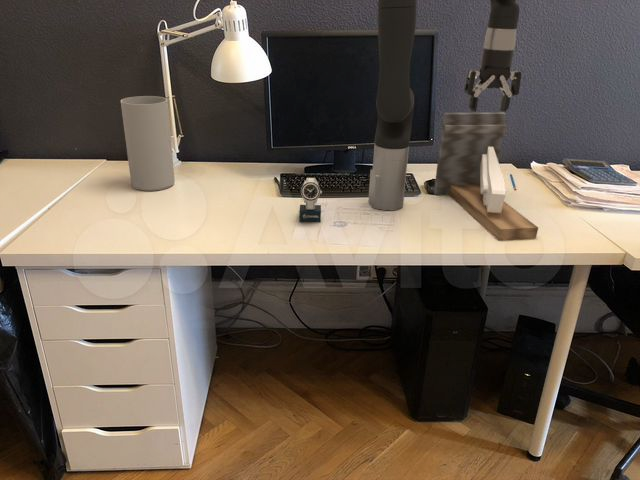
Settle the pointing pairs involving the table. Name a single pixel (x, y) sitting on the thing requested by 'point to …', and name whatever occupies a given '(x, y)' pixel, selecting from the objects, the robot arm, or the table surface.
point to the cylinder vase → (148, 142)
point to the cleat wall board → (476, 171)
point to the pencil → (513, 182)
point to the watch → (310, 202)
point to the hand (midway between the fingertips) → (488, 111)
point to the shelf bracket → (491, 182)
